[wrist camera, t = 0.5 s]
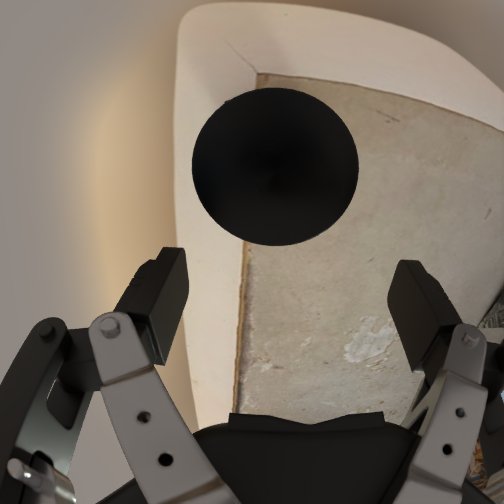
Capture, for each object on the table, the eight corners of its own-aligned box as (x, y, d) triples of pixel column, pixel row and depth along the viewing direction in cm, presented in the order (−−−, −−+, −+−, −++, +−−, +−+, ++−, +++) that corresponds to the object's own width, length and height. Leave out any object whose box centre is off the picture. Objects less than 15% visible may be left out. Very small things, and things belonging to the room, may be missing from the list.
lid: (176, 141, 13) (158, 154, 11) (292, 60, 11) (297, 53, 9) (258, 243, 16) (255, 271, 14) (368, 178, 14) (385, 197, 11)
